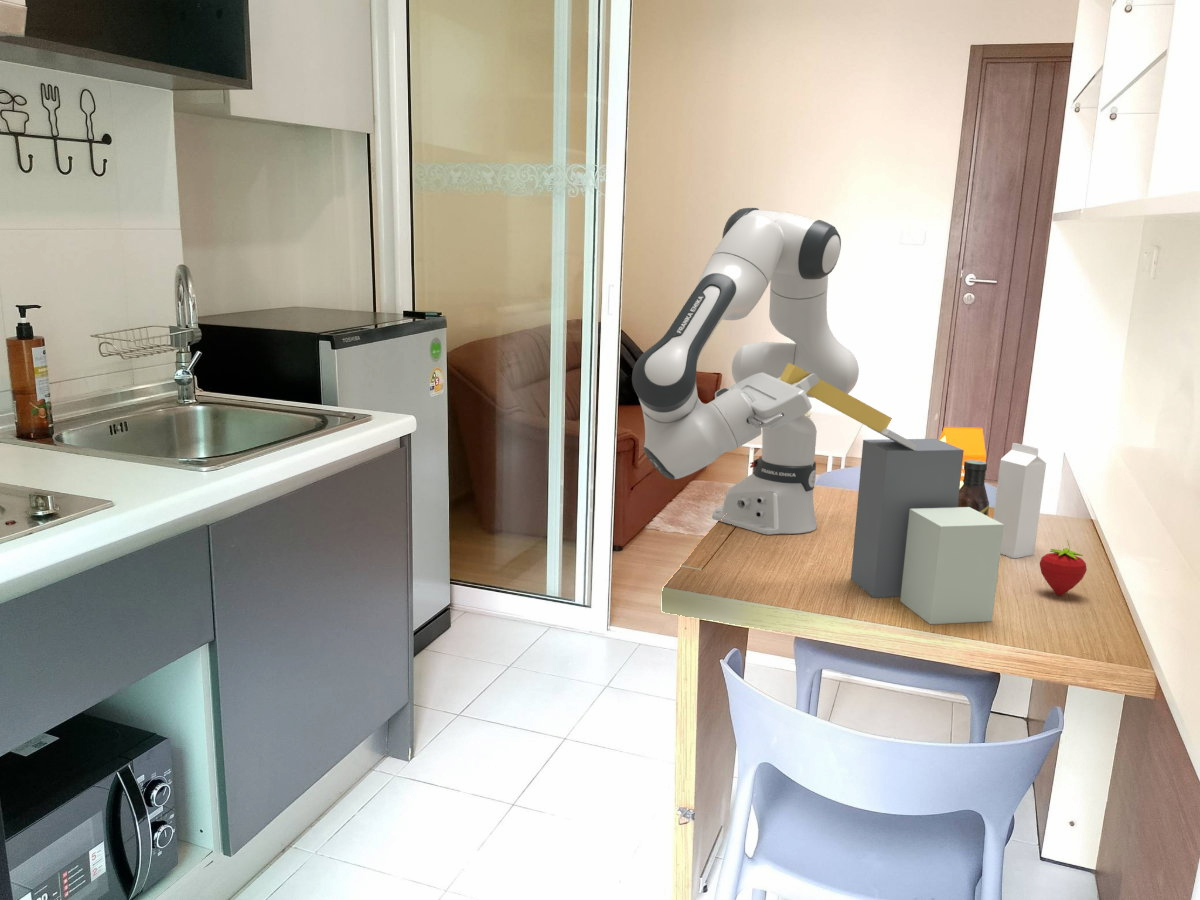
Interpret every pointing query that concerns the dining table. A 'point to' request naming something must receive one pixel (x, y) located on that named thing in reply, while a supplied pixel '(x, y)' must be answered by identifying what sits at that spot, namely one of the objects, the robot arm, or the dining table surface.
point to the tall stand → (898, 505)
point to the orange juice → (966, 443)
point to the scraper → (846, 405)
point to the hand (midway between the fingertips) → (810, 374)
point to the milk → (1019, 499)
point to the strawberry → (1062, 570)
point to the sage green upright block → (951, 564)
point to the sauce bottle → (974, 487)
